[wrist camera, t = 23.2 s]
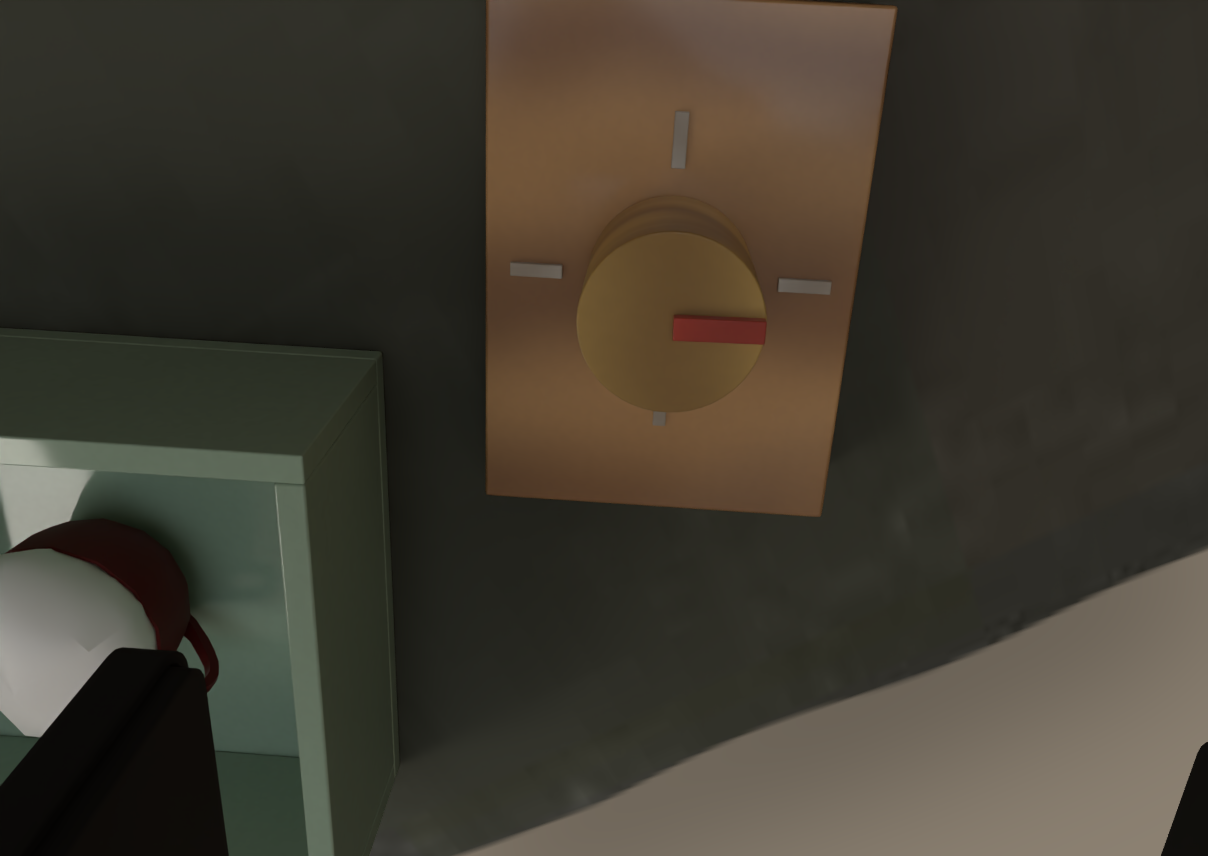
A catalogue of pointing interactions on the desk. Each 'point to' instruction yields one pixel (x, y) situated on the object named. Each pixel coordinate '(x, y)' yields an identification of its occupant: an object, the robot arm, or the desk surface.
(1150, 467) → the desk surface
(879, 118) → the wooden knob base
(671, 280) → the rotary knob
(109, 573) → the cocoa
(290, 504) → the green open box
